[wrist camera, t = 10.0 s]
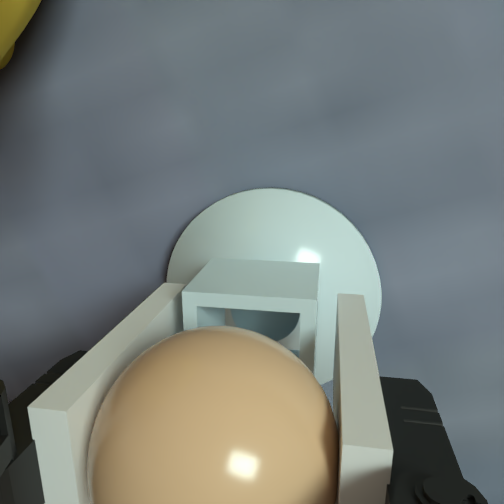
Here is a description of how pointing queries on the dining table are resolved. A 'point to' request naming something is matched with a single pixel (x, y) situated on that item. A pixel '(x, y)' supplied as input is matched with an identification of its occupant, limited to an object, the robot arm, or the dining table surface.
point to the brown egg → (214, 426)
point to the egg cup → (275, 270)
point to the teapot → (13, 24)
